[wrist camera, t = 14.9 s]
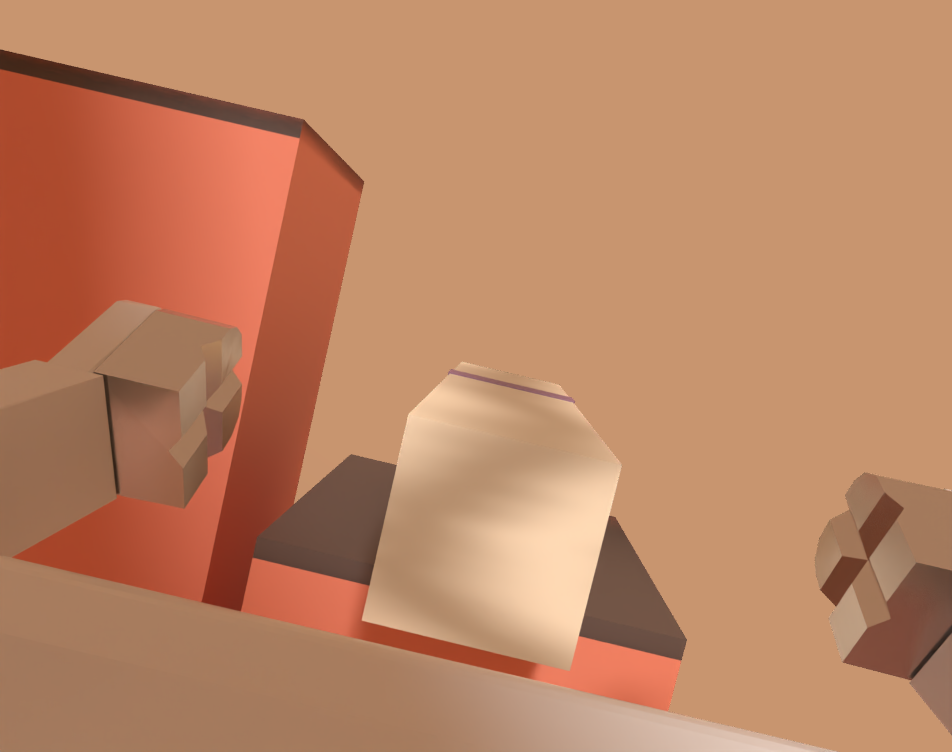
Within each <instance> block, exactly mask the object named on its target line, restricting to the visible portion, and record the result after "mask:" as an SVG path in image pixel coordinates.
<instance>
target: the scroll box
mask: <svg viewBox="0 0 952 752" xmlns="http://www.w3.org/2000/svg"><path fill="white" fill-rule="evenodd" d="M574 403H575V401H574V400H573V399H572V398H571V397H568V396H567V394H566V393H565V392H564V391H563V389H562V388H561V387H560V385H558V384H554V383H550V382H546V381H541V380H537V379H533V378H528V377H524V376H520V375H516V374H512V373H507V372H503V371H499V370H494V369H490V368H486V367H482V366H478V365H474V364H469V363H465V362H461V363H460V364H459V365H458V366H457V367H456V368H455V369H454V370H453V369H451V370H450V371H449V373H448V376H447V377H446V378H445V379H444V380H443V381H442V382H441V383H440V384H439V385H438V386H437V387H436V388H435V389H434V390H433V391H432V392H431V393H430V394H429V395H428V396H427V397H426V398H425V399H424V400H423V401H421V402H420V403H419V404H418V405H417V406H416V407H415V408H414V410H413V411H411V412H410V413H409V414H408V419H407V424H406V427H405V432H404V437H403V441H402V445H401V450H400V454H399V458H398V463H397V467H396V471H395V476H394V480H393V485H392V489H391V493H390V498H389V502H388V507H387V511H386V515H385V520H384V524H383V529H382V533H381V537H380V542H379V546H378V551H377V555H376V559H375V564H374V568H373V572H372V577H371V581H370V586H369V590H368V594H367V599H366V603H365V608H364V612H363V616H362V621H366V622H370V623H374V624H378V625H382V626H386V627H390V628H394V629H398V630H403V631H407V632H411V633H415V634H419V635H423V636H427V637H431V638H435V639H439V640H444V641H448V642H452V643H456V644H460V645H464V646H468V647H472V648H476V649H481V650H485V651H489V652H493V653H497V654H501V655H505V656H509V657H513V658H518V659H522V660H526V661H530V662H534V663H538V664H542V665H546V666H550V667H554V668H559V669H563V670H567V671H570V668H571V665H572V661H573V657H574V653H575V649H576V645H577V641H578V637H579V633H580V629H581V625H582V621H583V617H584V613H585V609H586V605H587V601H588V597H589V593H590V589H591V585H592V581H593V577H594V573H595V569H596V565H597V562H598V558H599V554H600V550H601V546H602V542H603V538H604V534H605V530H606V526H607V522H608V518H609V514H610V510H611V506H612V502H613V498H614V494H615V490H616V486H617V481H618V478H619V474H620V470H621V466H622V464H621V463H620V462H619V461H618V459H617V458H616V457H615V456H614V454H613V453H612V452H611V450H610V449H609V448H608V447H607V445H606V444H605V443H604V442H603V440H602V439H601V438H600V436H599V435H598V434H597V433H596V431H595V430H594V429H593V428H592V426H591V425H590V424H589V422H588V421H587V420H586V419H585V417H584V416H583V415H582V413H581V412H580V411H579V410H578V408H577V407H576V406H575V405H574Z"/></svg>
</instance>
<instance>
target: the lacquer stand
mask: <svg viewBox="0 0 952 752" xmlns="http://www.w3.org/2000/svg"><path fill="white" fill-rule="evenodd" d="M363 184H364V181H363V180H362V179H361V178H360V177H359V176H358V175H357V174H356V173H355V172H354V171H353V170H352V169H351V168H350V167H349V166H348V165H347V163H346V162H345V161H344V160H342V158H341V157H340V156H339V155H338V154H337V153H336V152H335V151H334V150H333V149H332V148H331V147H330V146H328V144H327V143H326V142H325V141H324V140H323V139H322V138H321V137H320V136H319V135H318V134H317V133H316V132H315V131H314V130H313V129H312V128H311V127H310V126H309V125H308V124H307V123H306V121H305V120H303V119H299V118H295V117H290V116H286V115H282V114H277V113H273V112H269V111H264V110H260V109H256V108H251V107H247V106H242V105H238V104H234V103H230V102H225V101H221V100H217V99H212V98H208V97H204V96H199V95H195V94H191V93H186V92H182V91H178V90H173V89H169V88H164V87H160V86H156V85H152V84H147V83H143V82H139V81H134V80H130V79H125V78H121V77H117V76H112V75H108V74H104V73H99V72H95V71H91V70H87V69H82V68H78V67H74V66H69V65H65V64H61V63H56V62H52V61H48V60H43V59H39V58H35V57H30V56H26V55H22V54H17V53H13V52H9V51H4V50H0V369H3V368H7V367H11V366H14V365H18V364H21V363H25V362H29V361H32V360H38V361H43V362H48V361H49V360H50V359H52V358H53V357H54V356H55V355H56V354H57V353H58V352H60V351H61V350H62V349H63V348H64V347H65V346H66V345H67V344H69V343H70V342H71V341H72V340H73V339H74V338H75V337H77V336H78V335H79V334H80V333H81V332H82V331H83V330H84V329H86V328H87V327H88V326H89V325H90V324H91V323H92V322H94V321H95V320H96V319H97V318H98V317H99V316H100V315H101V314H103V313H104V312H105V311H106V310H107V309H108V308H109V307H111V306H112V305H113V304H114V303H115V302H117V301H121V300H129V301H134V302H138V303H143V304H147V305H152V306H156V307H159V308H161V309H168V310H172V311H176V312H180V313H184V314H188V315H192V316H196V317H200V318H204V319H208V320H212V321H216V322H219V323H223V324H227V325H231V326H235V327H237V328H238V329H239V331H240V333H241V334H242V357H241V358H240V360H239V361H238V363H237V364H236V365H235V367H234V368H233V369H232V370H233V372H234V373H235V375H236V376H237V378H238V379H239V380H240V382H241V383H242V399H241V405H240V411H239V417H238V420H237V422H236V425H235V428H234V431H233V433H232V436H231V438H230V439H229V441H228V443H227V444H226V446H225V448H224V449H223V451H221V452H219V453H217V454H215V455H212V456H210V457H208V474H207V475H206V477H205V478H204V480H203V481H202V483H201V484H200V486H199V487H198V489H197V491H196V492H195V494H194V495H193V497H192V498H191V500H190V501H189V503H188V504H187V506H186V507H185V509H183V508H178V507H173V506H168V505H164V504H159V503H154V502H149V501H144V500H139V499H134V498H129V497H125V496H120V495H117V499H115V500H113V501H111V502H110V503H108V504H106V505H104V506H103V507H101V508H99V509H97V510H95V511H94V512H92V513H90V514H88V515H87V516H85V517H83V518H81V519H79V520H78V521H76V522H74V523H72V524H70V525H69V526H67V527H65V528H63V529H62V530H60V531H58V532H56V533H54V534H53V535H51V536H49V537H47V538H46V539H44V540H42V541H40V542H38V543H37V544H35V545H33V546H31V547H30V548H28V549H26V550H24V551H22V552H21V553H19V554H17V555H15V556H13V557H12V558H15V559H19V560H24V561H28V562H32V563H37V564H41V565H45V566H49V567H54V568H58V569H62V570H66V571H71V572H75V573H79V574H83V575H88V576H92V577H96V578H101V579H105V580H109V581H113V582H118V583H122V584H126V585H130V586H135V587H139V588H143V589H147V590H152V591H156V592H160V593H165V594H169V595H173V596H177V597H182V598H186V599H190V600H194V601H199V602H203V603H207V604H211V605H216V606H220V607H224V608H228V609H233V610H237V611H241V612H246V613H250V614H254V615H258V616H263V617H267V618H271V619H275V620H280V621H284V622H288V623H292V624H297V625H301V626H305V627H310V628H314V629H318V630H322V631H327V632H331V633H335V634H339V635H344V636H348V637H352V638H356V639H361V640H365V641H369V642H373V643H378V644H382V645H386V646H391V647H395V648H399V649H403V650H408V651H412V652H416V653H421V654H425V655H429V656H433V657H438V658H442V659H446V660H451V661H455V662H459V663H463V664H468V665H472V666H476V667H480V668H485V669H489V670H493V671H498V672H502V673H506V674H510V675H515V676H519V677H523V678H528V679H532V680H536V681H540V682H545V683H549V684H553V685H558V686H562V687H566V688H570V689H575V690H579V691H583V692H587V693H592V694H596V695H600V696H605V697H609V698H613V699H617V700H622V701H626V702H630V703H635V704H639V705H643V706H647V707H652V708H656V709H660V710H664V711H668V709H669V706H670V702H671V698H672V694H673V691H674V687H675V682H676V679H677V675H678V671H679V667H680V664H681V660H682V656H683V652H684V649H685V645H686V641H687V639H686V638H685V636H684V634H683V632H682V631H681V630H680V627H679V626H678V624H677V622H676V620H675V619H674V617H673V615H672V614H671V612H670V610H669V608H668V607H667V605H666V603H665V602H664V600H663V598H662V596H661V595H660V593H659V592H658V590H657V588H656V587H655V585H654V583H653V581H652V580H651V578H650V576H649V574H648V573H647V571H646V569H645V567H644V566H643V564H642V562H641V561H640V559H639V557H638V555H637V554H636V552H635V550H634V549H633V547H632V545H631V543H630V542H629V540H628V538H627V537H626V535H625V533H624V531H623V530H622V528H621V526H620V525H619V523H618V521H617V520H616V518H615V517H612V516H609V518H608V522H607V526H606V530H605V534H604V538H603V542H602V546H601V550H600V554H599V558H598V562H597V565H596V569H595V573H594V577H593V581H592V585H591V589H590V593H589V597H588V601H587V605H586V609H585V613H584V617H583V621H582V625H581V629H580V633H579V637H578V641H577V645H576V649H575V653H574V657H573V661H572V665H571V668H570V671H567V670H563V669H559V668H554V667H550V666H546V665H542V664H538V663H534V662H530V661H526V660H522V659H518V658H513V657H509V656H505V655H501V654H497V653H493V652H489V651H485V650H481V649H476V648H472V647H468V646H464V645H460V644H456V643H452V642H448V641H444V640H439V639H435V638H431V637H427V636H423V635H419V634H415V633H411V632H407V631H403V630H398V629H394V628H390V627H386V626H382V625H378V624H374V623H370V622H366V621H362V616H363V612H364V608H365V603H366V599H367V594H368V590H369V586H370V581H371V577H372V572H373V568H374V564H375V559H376V555H377V551H378V546H379V542H380V537H381V533H382V529H383V524H384V520H385V515H386V511H387V507H388V502H389V498H390V493H391V489H392V485H393V480H394V476H395V471H396V467H397V465H394V464H390V463H385V462H381V461H377V460H373V459H368V458H364V457H360V456H356V455H350V456H349V457H347V458H346V459H345V460H344V461H343V462H342V463H341V464H339V465H338V466H337V467H336V468H335V469H334V470H332V471H331V472H330V473H329V474H328V475H327V476H326V477H325V478H323V479H322V480H321V481H320V482H319V483H318V484H317V485H315V486H314V487H313V488H312V489H311V490H310V491H309V492H307V493H306V494H305V495H304V496H303V497H302V498H301V499H300V500H298V501H297V502H296V503H295V504H294V499H295V495H296V491H297V486H298V482H299V477H300V473H301V468H302V463H303V459H304V454H305V450H306V445H307V440H308V436H309V431H310V426H311V422H312V418H313V413H314V409H315V404H316V399H317V395H318V390H319V386H320V381H321V377H322V372H323V367H324V363H325V358H326V353H327V349H328V345H329V340H330V335H331V331H332V326H333V321H334V317H335V312H336V307H337V303H338V298H339V294H340V290H341V285H342V280H343V276H344V271H345V267H346V262H347V258H348V253H349V248H350V243H351V239H352V235H353V230H354V225H355V221H356V216H357V211H358V207H359V203H360V198H361V194H362V189H363Z"/></svg>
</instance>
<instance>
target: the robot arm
mask: <svg viewBox="0 0 952 752" xmlns="http://www.w3.org/2000/svg"><path fill="white" fill-rule="evenodd" d="M241 357H242V334H241V333H240V331H239V329H238V328H237V327H235V326H231V325H227V324H223V323H219V322H216V321H212V320H208V319H204V318H200V317H196V316H192V315H188V314H184V313H180V312H176V311H172V310H168V309H161V308H159V307H156V306H152V305H147V304H143V303H138V302H134V301H129V300H121V301H117V302H115V303H114V304H113V305H112V306H111V307H109V308H108V309H107V310H106V311H105V312H104V313H103V314H101V315H100V316H99V317H98V318H97V319H96V320H95V321H94V322H92V323H91V324H90V325H89V326H88V327H87V328H86V329H84V330H83V331H82V332H81V333H80V334H79V335H78V336H77V337H75V338H74V339H73V340H72V341H71V342H70V343H69V344H67V345H66V346H65V347H64V348H63V349H62V350H61V351H60V352H58V353H57V354H56V355H55V356H54V357H53V358H52V359H50V360H49V361H48V362H43V361H38V360H32V361H29V362H25V363H21V364H18V365H14V366H11V367H7V368H3V369H0V752H837V751H833V750H829V749H825V748H820V747H816V746H812V745H807V744H804V743H799V742H795V741H791V740H787V739H783V738H778V737H774V736H770V735H765V734H761V733H757V732H753V731H749V730H745V729H740V728H736V727H731V726H728V725H723V724H719V723H715V722H710V721H706V720H702V719H698V718H694V717H690V716H685V715H681V714H677V713H673V712H669V711H664V710H660V709H656V708H652V707H647V706H643V705H639V704H635V703H630V702H626V701H622V700H617V699H613V698H609V697H605V696H600V695H596V694H592V693H587V692H583V691H579V690H575V689H570V688H566V687H562V686H558V685H553V684H549V683H545V682H540V681H536V680H532V679H528V678H523V677H519V676H515V675H510V674H506V673H502V672H498V671H493V670H489V669H485V668H480V667H476V666H472V665H468V664H463V663H459V662H455V661H451V660H446V659H442V658H438V657H433V656H429V655H425V654H421V653H416V652H412V651H408V650H403V649H399V648H395V647H391V646H386V645H382V644H378V643H373V642H369V641H365V640H361V639H356V638H352V637H348V636H344V635H339V634H335V633H331V632H327V631H322V630H318V629H314V628H310V627H305V626H301V625H297V624H292V623H288V622H284V621H280V620H275V619H271V618H267V617H263V616H258V615H254V614H250V613H246V612H241V611H237V610H233V609H228V608H224V607H220V606H216V605H211V604H207V603H203V602H199V601H194V600H190V599H186V598H182V597H177V596H173V595H169V594H165V593H160V592H156V591H152V590H147V589H143V588H139V587H135V586H130V585H126V584H122V583H118V582H113V581H109V580H105V579H101V578H96V577H92V576H88V575H83V574H79V573H75V572H71V571H66V570H62V569H58V568H54V567H49V566H45V565H41V564H37V563H32V562H28V561H24V560H19V559H15V558H12V557H13V556H15V555H17V554H19V553H21V552H22V551H24V550H26V549H28V548H30V547H31V546H33V545H35V544H37V543H38V542H40V541H42V540H44V539H46V538H47V537H49V536H51V535H53V534H54V533H56V532H58V531H60V530H62V529H63V528H65V527H67V526H69V525H70V524H72V523H74V522H76V521H78V520H79V519H81V518H83V517H85V516H87V515H88V514H90V513H92V512H94V511H95V510H97V509H99V508H101V507H103V506H104V505H106V504H108V503H110V502H111V501H113V500H115V499H117V495H120V496H125V497H129V498H134V499H139V500H144V501H149V502H154V503H159V504H164V505H168V506H173V507H178V508H183V509H185V507H186V506H187V504H188V503H189V501H190V500H191V498H192V497H193V495H194V494H195V492H196V491H197V489H198V487H199V486H200V484H201V483H202V481H203V480H204V478H205V477H206V475H207V474H208V457H210V456H212V455H215V454H217V453H219V452H221V451H223V449H224V448H225V446H226V444H227V443H228V441H229V439H230V438H231V436H232V433H233V431H234V428H235V425H236V422H237V420H238V417H239V411H240V405H241V399H242V383H241V382H240V380H239V379H238V378H237V376H236V375H235V373H234V372H233V370H232V369H233V368H234V367H235V365H236V364H237V363H238V361H239V360H240V358H241ZM845 496H846V500H847V504H848V507H849V510H848V511H846V512H845V513H842V514H840V515H838V516H837V517H835V518H832V519H831V520H829V522H828V524H827V526H826V528H825V529H824V531H823V533H822V535H821V536H820V538H819V542H818V547H817V552H816V556H815V568H816V577H817V580H818V584H819V587H820V590H821V591H822V592H823V593H824V594H825V595H826V596H827V598H829V600H830V601H831V602H832V603H833V604H834V605H835V606H836V608H835V609H834V611H833V612H832V614H831V615H830V617H829V621H830V624H831V627H832V631H833V633H834V637H835V640H836V643H837V647H838V650H839V653H840V656H841V660H842V662H843V663H847V664H851V665H855V666H858V667H862V668H866V669H870V670H874V671H878V672H881V673H885V674H889V675H893V676H897V677H901V678H905V679H908V680H911V682H910V684H911V685H912V687H913V688H914V689H915V690H916V692H917V693H918V694H919V695H920V697H921V698H922V699H923V700H924V702H925V703H926V704H927V705H928V706H929V708H930V709H931V710H932V711H933V713H934V714H935V715H936V716H937V718H938V719H939V720H940V721H941V722H942V724H943V725H944V726H945V727H946V729H947V730H948V731H949V732H950V734H951V735H952V490H948V489H939V488H935V487H930V486H925V485H920V484H916V483H911V482H906V481H902V480H897V479H893V478H888V477H883V476H879V475H874V474H870V473H863V474H862V475H861V476H860V477H858V478H857V479H856V480H855V481H854V482H853V484H852V485H851V487H850V488H849V490H848V492H847V493H846V495H845Z"/></svg>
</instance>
